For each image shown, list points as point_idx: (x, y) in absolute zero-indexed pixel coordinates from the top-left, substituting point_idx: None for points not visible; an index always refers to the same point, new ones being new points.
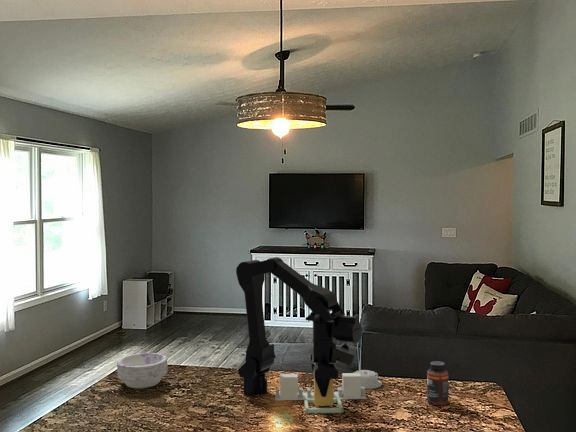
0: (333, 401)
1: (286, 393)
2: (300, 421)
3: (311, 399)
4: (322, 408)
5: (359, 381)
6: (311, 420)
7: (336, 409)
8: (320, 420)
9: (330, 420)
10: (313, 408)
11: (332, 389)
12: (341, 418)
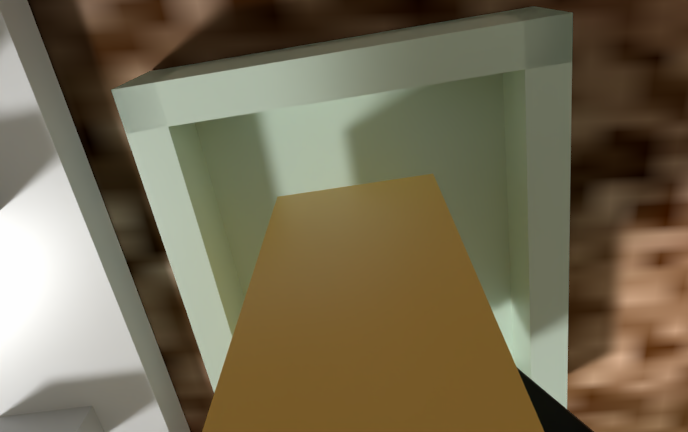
0: (192, 169)
1: None
2: (648, 420)
3: None
4: (550, 298)
5: None
6: (634, 340)
7: (565, 120)
8: (645, 263)
9: (658, 163)
10: (546, 386)
11: (489, 320)
12: (609, 31)
